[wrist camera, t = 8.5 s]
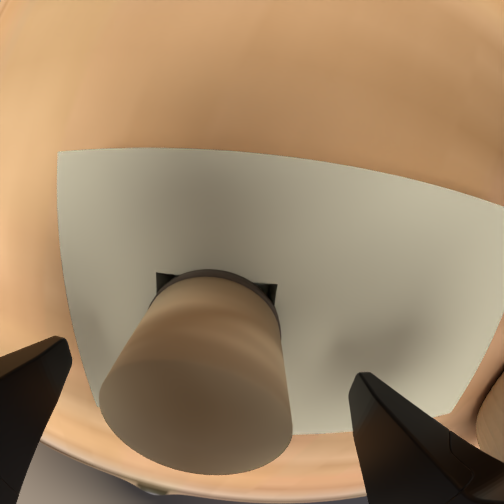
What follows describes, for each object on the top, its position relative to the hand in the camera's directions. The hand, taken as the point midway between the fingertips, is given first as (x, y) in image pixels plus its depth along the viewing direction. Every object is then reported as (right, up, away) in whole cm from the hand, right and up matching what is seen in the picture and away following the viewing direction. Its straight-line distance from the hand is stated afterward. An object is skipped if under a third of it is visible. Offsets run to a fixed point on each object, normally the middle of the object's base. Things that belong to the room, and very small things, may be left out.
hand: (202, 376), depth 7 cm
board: (+4, +1, +6) cm, 7 cm away
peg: (0, +1, +5) cm, 5 cm away
